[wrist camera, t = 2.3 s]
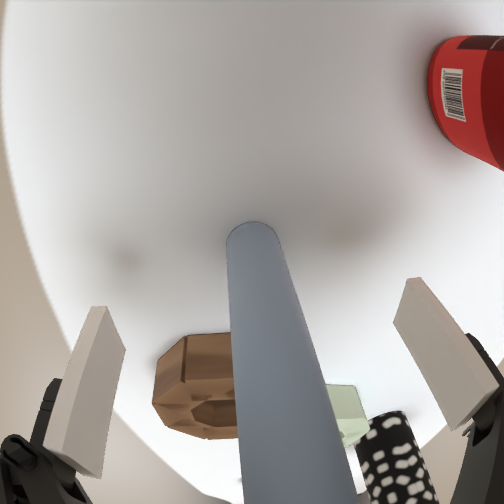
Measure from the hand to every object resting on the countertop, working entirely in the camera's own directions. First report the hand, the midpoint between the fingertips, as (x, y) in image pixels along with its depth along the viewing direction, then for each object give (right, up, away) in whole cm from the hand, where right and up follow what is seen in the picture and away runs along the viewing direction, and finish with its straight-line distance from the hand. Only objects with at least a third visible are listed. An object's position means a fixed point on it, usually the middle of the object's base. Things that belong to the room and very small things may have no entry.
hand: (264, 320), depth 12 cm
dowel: (0, +3, +5) cm, 6 cm away
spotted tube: (+18, -22, +22) cm, 36 cm away
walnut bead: (-3, -7, +11) cm, 14 cm away
